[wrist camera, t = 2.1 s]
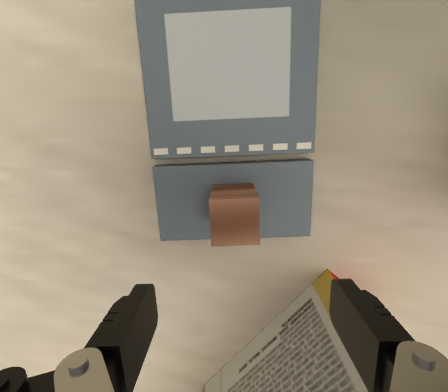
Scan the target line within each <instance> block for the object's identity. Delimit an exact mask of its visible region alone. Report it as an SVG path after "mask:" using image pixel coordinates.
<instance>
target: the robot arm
mask: <svg viewBox="0 0 448 392" xmlns="http://www.w3.org/2000/svg"><path fill="white" fill-rule="evenodd" d="M329 312H330V318H331V322H332V324H333V326H334V328H335V330H336V332H337V334H338V336H339V338H340V340H341V341H342V343H343V345H344V347H345V349H346V351H347V353H348V355H349V356H350V358H351V360H352V362H353V364H354V366H355V368H356V370H357V371H358V373H359V375H360V377H361V379H362V381H363V383H364V385H365V386H366V388H367V390H368V392H448V359H447V358H446V357H445V356H444V355H443V354H442V353H440V352H439V351H437V350H436V349H434V348H432V347H430V346H428V345H426V344H423V343H420V342H416V341H415V340H414V339H413V338H412V337H411V336H410V334H409V333H408V332H407V331H406V330H405V329H404V328H403V327H402V325H401V324H400V323H399V322H398V321H397V320H396V319H395V317H394V316H392V315H391V313H390V312H389V311H388V310H387V308H385V306H384V305H383V304H382V303H381V302H380V301H379V299H378V298H377V297H375V296H374V295H372V294H371V293H369V292H367V291H366V290H360V289H359V288H358V286H357V285H356V284H355V283H354V282H353V280H352V279H333V280H332V281H331V291H330V307H329ZM157 321H158V312H157V304H156V296H155V288H154V285H153V284H136V285H135V286H134V288H133V289H132V291H131V293H130V294H129V296H123V297H122V298H120V299H119V300H118V301H116V302H115V303H114V304H113V305H112V307H111V308H110V310H109V311H108V314H106V316H105V317H104V319H103V322H101V323H100V325H99V326H98V328H97V329H96V331H95V332H94V334H93V335H92V337H91V338H90V340H89V341H88V343H87V344H86V346H85V347H84V348H83V349H80V350H78V351H75V352H73V353H71V354H70V355H68V356H67V357H66V358H64V359H63V360H62V361H61V362H60V363H59V365H58V366H57V367H56V369H55V370H54V371H51V372H48V373H44V374H40V375H37V376H33V377H30V378H27V374H26V371H25V370H24V369H23V368H21V367H10V368H6V369H3V370H1V371H0V392H133V389H134V386H135V384H136V381H137V378H138V376H139V373H140V370H141V368H142V365H143V362H144V359H145V357H146V354H147V351H148V349H149V346H150V343H151V341H152V338H153V335H154V332H155V330H156V327H157Z"/></svg>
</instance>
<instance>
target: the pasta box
mask: <svg viewBox="0 0 448 392" xmlns="http://www.w3.org/2000/svg"><path fill="white" fill-rule="evenodd" d="M333 279H339V278H338V277H336V276H335V275H334V274H333V273H332V272H330V271H329V270H328V269H327V270H326V271H325V272H324V273H323V274H322V275H321V276H320V277H319V278H318V279H317V280H316V281H315V282H313V283H312V284H311V285H310V286H309V287H308V288H307V289H306V290H305V291H304V292H303V293H302V294H301V295H300V296H299V297H298V298H296V299H295V300H294V301H293V302H292V303H291V304H290V305H289V306H288V307H287V308H286V309H285V310H284V311H283V312H282V313H280V314H279V315H278V316H277V317H276V318H275V319H274V320H273V321H272V322H271V323H270V324H269V325H268V326H267V327H266V328H265V329H263V330H262V331H261V332H260V333H259V334H258V335H257V336H256V337H255V338H254V339H253V340H252V341H251V342H250V343H249V344H248V345H246V346H245V347H244V348H243V349H242V350H241V351H240V352H239V353H238V354H237V355H236V356H235V357H234V358H233V359H232V360H231V361H229V362H228V363H227V364H226V365H225V366H224V367H223V368H222V369H221V370H220V371H219V372H218V373H217V374H216V375H215V376H214V377H212V378H211V379H210V380H209V381H208V382H207V383H206V384H205V388H204V392H368V390H367V388H366V386H365V385H364V383H363V381H362V379H361V377H360V375H359V373H358V371H357V370H356V368H355V366H354V364H353V362H352V360H351V358H350V356H349V355H348V353H347V351H346V349H345V347H344V345H343V343H342V341H341V340H340V338H339V336H338V334H337V332H336V330H335V328H334V326H333V324H332V322H331V318H330V312H329V307H330V291H331V281H332V280H333Z"/></svg>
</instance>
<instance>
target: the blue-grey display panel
mask: <svg viewBox="0 0 448 392" xmlns="http://www.w3.org/2000/svg"><path fill="white" fill-rule="evenodd" d="M134 1H135V10H136V19H137V29H138V38H139V47H140V56H141V65H142V74H143V83H144V92H145V101H146V110H147V119H148V128H149V137H150V147H151V156H152V159H164V158H189V157H214V156H239V155H264V154H289V153H314V137H315V115H316V92H317V69H318V46H319V24H320V1H321V0H134Z"/></svg>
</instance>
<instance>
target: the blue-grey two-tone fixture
mask: <svg viewBox="0 0 448 392" xmlns="http://www.w3.org/2000/svg"><path fill="white" fill-rule="evenodd" d="M153 174H154V183H155V192H156V201H157V210H158V219H159V228H160V237H161V241H166V240H199V239H211V245H212V246H236V245H260V238H265V237H297V236H310V228H311V206H312V183H313V160H310V159H297V160H272V161H246V162H221V163H195V164H170V165H156V166H154V167H153Z"/></svg>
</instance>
